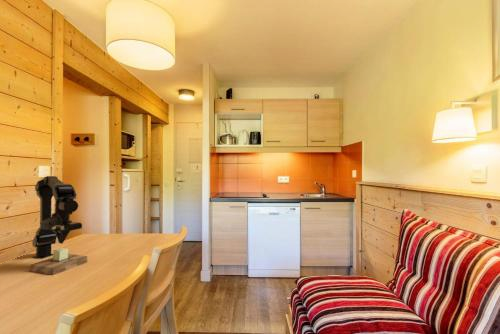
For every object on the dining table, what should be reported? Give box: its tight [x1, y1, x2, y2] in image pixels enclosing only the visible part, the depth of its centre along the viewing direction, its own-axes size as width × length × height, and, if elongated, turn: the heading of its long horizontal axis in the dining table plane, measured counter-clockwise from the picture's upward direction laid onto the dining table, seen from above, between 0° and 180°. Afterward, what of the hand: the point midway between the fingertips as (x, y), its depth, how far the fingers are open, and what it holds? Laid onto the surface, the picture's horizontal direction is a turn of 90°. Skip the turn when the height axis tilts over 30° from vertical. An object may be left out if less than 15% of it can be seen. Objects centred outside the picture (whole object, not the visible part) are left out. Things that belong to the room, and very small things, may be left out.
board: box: [30, 253, 88, 276], centre depth 113 cm, size 14×16×3 cm
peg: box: [52, 247, 69, 263], centre depth 114 cm, size 4×4×8 cm
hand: (61, 243), depth 114 cm, fingers closed
